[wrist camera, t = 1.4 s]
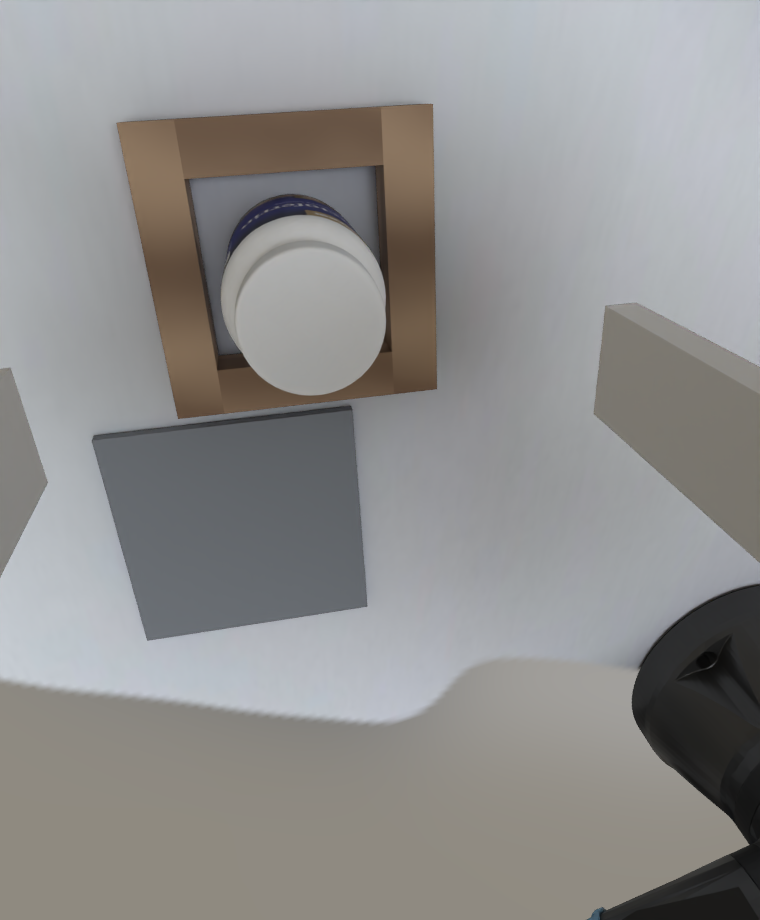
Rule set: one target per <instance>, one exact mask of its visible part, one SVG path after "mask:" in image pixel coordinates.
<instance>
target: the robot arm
mask: <svg viewBox="0 0 760 920" xmlns="http://www.w3.org/2000/svg"><path fill="white" fill-rule="evenodd" d="M594 414H595V415H596V416H597V417H598V418H599V419H600V420H601V421H602V422H604V423H605V424H606V425H607V426H608V427H609V428H610V429H611V430H612V431H614V432H615V433H616V434H617V435H618V436H619V437H620V438H621V439H622V440H624V441H625V442H626V443H627V444H628V445H629V446H630V447H631V448H632V449H634V450H635V451H636V452H637V453H638V454H639V455H640V456H641V457H642V458H644V459H645V460H646V461H647V462H648V463H649V464H650V465H651V466H653V467H654V468H655V469H656V470H657V471H658V472H659V473H660V474H661V475H663V476H664V477H665V478H666V479H667V480H668V481H669V482H670V483H671V484H673V485H674V486H675V487H676V488H677V489H678V490H679V491H680V492H681V493H683V494H684V495H685V496H686V497H687V498H688V499H689V500H690V501H691V502H693V503H694V504H695V505H696V506H697V507H698V508H699V509H700V510H702V511H703V512H704V513H705V514H706V515H707V516H708V517H709V518H710V519H712V520H713V521H714V522H715V523H716V524H717V525H718V526H719V527H720V528H722V529H723V530H724V531H725V532H726V533H727V534H728V535H729V536H730V537H732V538H733V539H734V540H735V541H736V542H737V543H738V544H739V545H740V546H742V547H743V548H744V549H745V550H746V551H747V552H748V553H749V554H751V555H752V556H753V557H754V558H755V559H756V560H757V561H758V562H759V563H760V367H759V366H757V365H755V364H753V363H751V362H749V361H747V360H745V359H744V358H742V357H740V356H738V355H736V354H734V353H732V352H730V351H728V350H726V349H724V348H722V347H721V346H719V345H717V344H715V343H713V342H711V341H709V340H707V339H705V338H703V337H701V336H699V335H697V334H696V333H694V332H692V331H690V330H688V329H686V328H684V327H682V326H680V325H678V324H676V323H674V322H672V321H671V320H669V319H667V318H665V317H663V316H661V315H659V314H657V313H655V312H653V311H651V310H649V309H647V308H646V307H644V306H642V305H640V304H638V303H628V304H618V305H609V306H605V315H604V324H603V333H602V342H601V351H600V361H599V370H598V379H597V388H596V397H595V406H594ZM47 483H48V481H47V478H46V475H45V472H44V469H43V466H42V463H41V460H40V457H39V454H38V451H37V448H36V445H35V442H34V439H33V435H32V432H31V429H30V426H29V423H28V420H27V417H26V414H25V411H24V408H23V405H22V402H21V399H20V396H19V393H18V390H17V386H16V383H15V380H14V377H13V374H12V371H11V368H3V369H0V577H1V575H2V573H3V571H4V569H5V567H6V565H7V563H8V561H9V559H10V557H11V555H12V553H13V551H14V549H15V547H16V545H17V543H18V541H19V539H20V537H21V535H22V533H23V531H24V529H25V527H26V525H27V523H28V521H29V519H30V517H31V515H32V513H33V511H34V509H35V507H36V505H37V503H38V501H39V499H40V497H41V495H42V493H43V491H44V489H45V487H46V485H47ZM632 710H633V715H634V718H635V721H636V723H637V725H638V727H639V728H640V730H641V732H642V733H643V735H644V736H645V738H646V739H647V741H648V743H649V744H650V746H651V747H652V749H653V750H654V752H655V753H656V754H657V755H658V756H659V758H660V759H661V760H662V761H663V762H665V763H666V764H667V765H669V766H670V767H672V768H674V769H675V770H676V771H677V772H678V773H679V774H680V775H681V776H683V777H684V778H685V779H686V780H687V781H688V782H689V783H690V784H692V785H693V786H694V787H695V788H696V789H697V790H698V791H700V792H701V793H702V794H703V795H704V796H706V797H707V798H708V799H709V800H711V801H712V802H713V803H714V804H715V805H716V806H718V807H719V808H720V809H721V810H722V811H724V812H725V813H726V814H727V815H728V816H729V817H730V818H731V819H732V820H733V821H734V823H735V824H736V825H737V827H738V829H739V830H740V831H741V833H742V834H743V836H744V837H745V839H746V840H747V841H748V843H749V844H750V845H749V846H747V847H744V848H742V849H740V850H738V851H736V852H734V853H731V854H729V855H726V856H724V857H722V858H720V859H718V860H716V861H714V862H711V863H709V864H707V865H705V866H703V867H701V868H699V869H697V870H695V871H693V872H690V873H688V874H686V875H684V876H682V877H680V878H678V879H676V880H674V881H671V882H669V883H667V884H665V885H662V886H660V887H658V888H656V889H653V890H651V891H649V892H647V893H644V894H642V895H640V896H638V897H635V898H633V899H631V900H629V901H626V902H624V903H622V904H620V905H618V906H615V907H613V908H611V909H609V910H605V909H604V908H603V907H602V908H599V909H597V910H595V911H594V912H593V914H592V916H591V918H589V919H587V920H760V586H755V587H750V588H746V589H742V590H739V591H736V592H733V593H730V594H728V595H725V596H723V597H720V598H718V599H716V600H714V601H712V602H710V603H708V604H706V605H704V606H703V607H701V608H699V609H698V610H696V611H695V612H693V613H692V614H690V615H689V616H687V617H686V618H684V619H683V620H682V621H681V622H679V623H678V624H677V625H676V626H675V627H673V628H672V629H671V630H670V631H669V632H668V633H667V634H666V635H665V636H664V637H663V638H662V639H661V640H660V641H659V643H658V644H657V645H656V646H655V647H654V649H653V650H652V651H651V653H650V654H649V655H648V657H647V659H646V660H645V662H644V664H643V665H642V667H641V669H640V671H639V673H638V676H637V678H636V681H635V685H634V689H633V695H632Z"/></svg>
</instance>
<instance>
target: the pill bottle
mask: <svg viewBox="0 0 760 920" xmlns="http://www.w3.org/2000/svg"><path fill="white" fill-rule="evenodd" d="M385 306H386V293H385V285H384V280H383V276H382V273H381V270H380V267H379V265H378V263H377V260H376V259H375V257H374V255H373V253H372V252H371V250H370V249H369V248H368V246H367V245H366V244H365V242H364V241H363V240H362V239H361V238H360V237H359V235H358V234H357V233H356V232H355V230H354V229H353V228H352V227H351V226H350V225H349V223H348V222H347V221H346V220H345V219H344V218H343V217H342V216H341V215H340V214H339V213H338V212H337V211H336V210H334V209H333V208H332V207H330V206H329V205H327V204H325V203H324V202H322V201H320V200H317V199H315V198H312V197H308V196H304V195H295V194H288V195H280V196H276V197H273V198H269V199H267V200H265V201H263V202H261V203H259V204H257V205H256V206H254V207H253V208H252V209H250V210H249V211H248V212H247V213H246V214H245V215H244V216H243V218H242V219H241V220H240V222H239V223H238V225H237V226H236V228H235V230H234V232H233V234H232V237H231V239H230V242H229V245H228V250H227V256H226V261H225V267H224V272H223V277H222V283H221V307H222V313H223V318H224V321H225V324H226V327H227V329H228V332H229V334H230V336H231V338H232V339H233V341H234V343H235V344H236V345H237V347H238V348H239V349H240V351H241V352H242V353H243V355H244V357H245V359H246V360H247V362H248V363H249V365H250V366H251V367H252V368H253V370H254V371H255V372H256V373H257V374H258V375H259V376H260V377H261V378H262V379H264V380H265V381H266V382H268V383H270V384H271V385H273V386H274V387H276V388H279V389H281V390H284V391H286V392H289V393H293V394H298V395H309V396H311V395H323V394H328V393H332V392H335V391H338V390H340V389H343V388H345V387H347V386H348V385H350V384H352V383H353V382H355V381H356V380H357V379H359V378H360V377H361V376H362V375H363V374H364V373H365V372H366V371H367V370H368V369H369V368H370V366H371V365H372V364H373V362H374V361H375V359H376V357H377V356H378V354H379V351H380V349H381V346H382V344H383V340H384V336H385V330H386V312H385Z"/></svg>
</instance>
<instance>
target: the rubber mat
mask: <svg viewBox="0 0 760 920" xmlns="http://www.w3.org/2000/svg"><path fill="white" fill-rule="evenodd" d="M92 443H93V447H94V450H95V454H96V457H97V461H98V465H99V468H100V472H101V475H102V479H103V483H104V486H105V490H106V493H107V497H108V501H109V504H110V508H111V511H112V515H113V519H114V522H115V526H116V529H117V533H118V537H119V540H120V544H121V548H122V551H123V555H124V558H125V562H126V566H127V569H128V573H129V576H130V580H131V584H132V587H133V591H134V594H135V598H136V602H137V605H138V609H139V612H140V616H141V620H142V623H143V627H144V630H145V634H146V638H147V641H148V640H155V639H161V638H168V637H174V636H180V635H187V634H193V633H200V632H206V631H213V630H219V629H226V628H232V627H239V626H245V625H251V624H258V623H264V622H271V621H277V620H284V619H290V618H297V617H303V616H310V615H316V614H322V613H329V612H335V611H342V610H348V609H355V608H361V607H367V595H366V582H365V569H364V556H363V543H362V530H361V517H360V504H359V491H358V478H357V465H356V452H355V440H354V427H353V414H352V408H351V406H347V407H338V408H330V409H321V410H313V411H304V412H296V413H287V414H278V415H270V416H261V417H253V418H244V419H235V420H227V421H218V422H210V423H201V424H193V425H184V426H175V427H167V428H158V429H150V430H141V431H132V432H124V433H115V434H107V435H98V436H94V437H93V439H92Z"/></svg>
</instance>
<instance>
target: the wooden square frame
mask: <svg viewBox="0 0 760 920" xmlns="http://www.w3.org/2000/svg"><path fill="white" fill-rule="evenodd" d="M117 128H118V132H119V137H120V142H121V147H122V152H123V156H124V161H125V166H126V171H127V176H128V180H129V185H130V190H131V195H132V200H133V204H134V209H135V214H136V219H137V224H138V228H139V233H140V238H141V243H142V248H143V252H144V257H145V262H146V267H147V272H148V276H149V281H150V286H151V291H152V296H153V301H154V305H155V310H156V315H157V320H158V325H159V329H160V334H161V339H162V344H163V349H164V353H165V358H166V363H167V368H168V373H169V377H170V382H171V387H172V392H173V397H174V401H175V406H176V411H177V416H178V419H182V418H190V417H199V416H208V415H216V414H225V413H234V412H242V411H251V410H260V409H269V408H277V407H286V406H295V405H303V404H312V403H321V402H329V401H338V400H347V399H355V398H364V397H373V396H381V395H390V394H399V393H408V392H416V391H425V390H434V389H437V362H436V291H435V220H434V148H433V104H415V105H398V106H381V107H365V108H348V109H332V110H315V111H298V112H282V113H265V114H248V115H232V116H215V117H198V118H182V119H165V120H148V121H132V122H120V123H117ZM361 166H375V169H376V189H377V209H378V228H379V248H380V268H381V273H382V276H383V280H384V285H385V293H386V306H385V312H386V330H385V336H384V340H383V344H382V346H381V349H380V351H379V354H378V356H377V357H376V359H375V361H374V362H373V364H372V365H371V366H370V368H369V369H368V370H367V371H366V372H365V373H364V374H363V375H362V376H361V377H360V378H359V379H357V380H356V381H355V382H353V383H352V384H350V385H348V386H347V387H345V388H343V389H340V390H338V391H335V392H332V393H328V394H323V395H311V396H309V395H298V394H293V393H289V392H286V391H284V390H281V389H279V388H276V387H274V386H273V385H271V384H270V383H268V382H266V381H265V380H264V379H262V378H261V377H260V376H259V375H258V374H257V373H256V372H255V371H254V370H253V368H252V367H251V366H250V365H249V363H248V362H247V360H246V359H245V357H244V355H243V353H240V354H230V355H221V356H219V354H218V348H217V342H216V336H215V330H214V324H213V319H212V313H211V307H210V301H209V295H208V289H207V283H206V277H205V271H204V265H203V260H202V254H201V248H200V242H199V236H198V230H197V224H196V218H195V212H194V207H193V201H192V195H191V189H190V183H189V179H192V178H206V177H220V176H234V175H248V174H262V173H276V172H290V171H304V170H318V169H332V168H347V167H361Z"/></svg>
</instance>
